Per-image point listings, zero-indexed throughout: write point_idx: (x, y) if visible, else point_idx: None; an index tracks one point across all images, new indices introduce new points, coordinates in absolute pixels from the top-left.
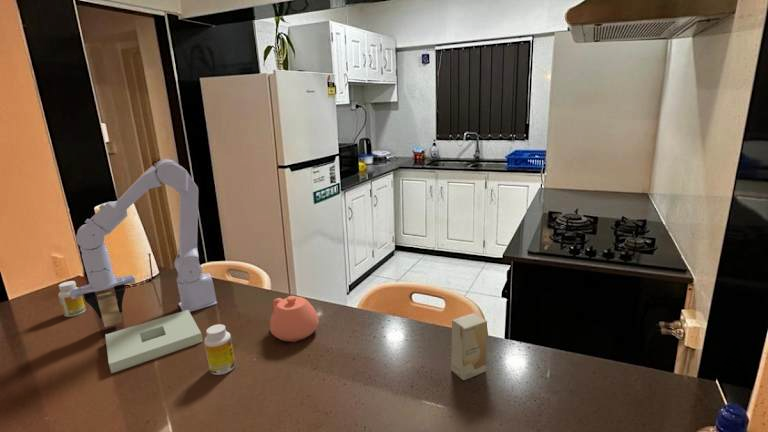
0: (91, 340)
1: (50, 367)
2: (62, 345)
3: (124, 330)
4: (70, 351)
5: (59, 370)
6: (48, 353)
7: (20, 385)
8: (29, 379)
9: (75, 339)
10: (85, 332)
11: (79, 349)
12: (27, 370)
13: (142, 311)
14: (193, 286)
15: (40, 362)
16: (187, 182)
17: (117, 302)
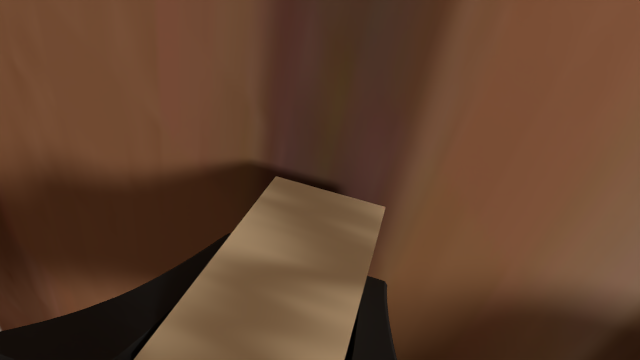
0: (210, 235)
1: (80, 299)
2: (88, 158)
3: None
4: (130, 250)
5: None
6: (45, 182)
7: (20, 317)
8: (35, 309)
9: (139, 149)
10: (185, 106)
11: (163, 267)
12: (8, 248)
13: (591, 124)
14: None
15: (35, 232)
16: None
17: (351, 343)
